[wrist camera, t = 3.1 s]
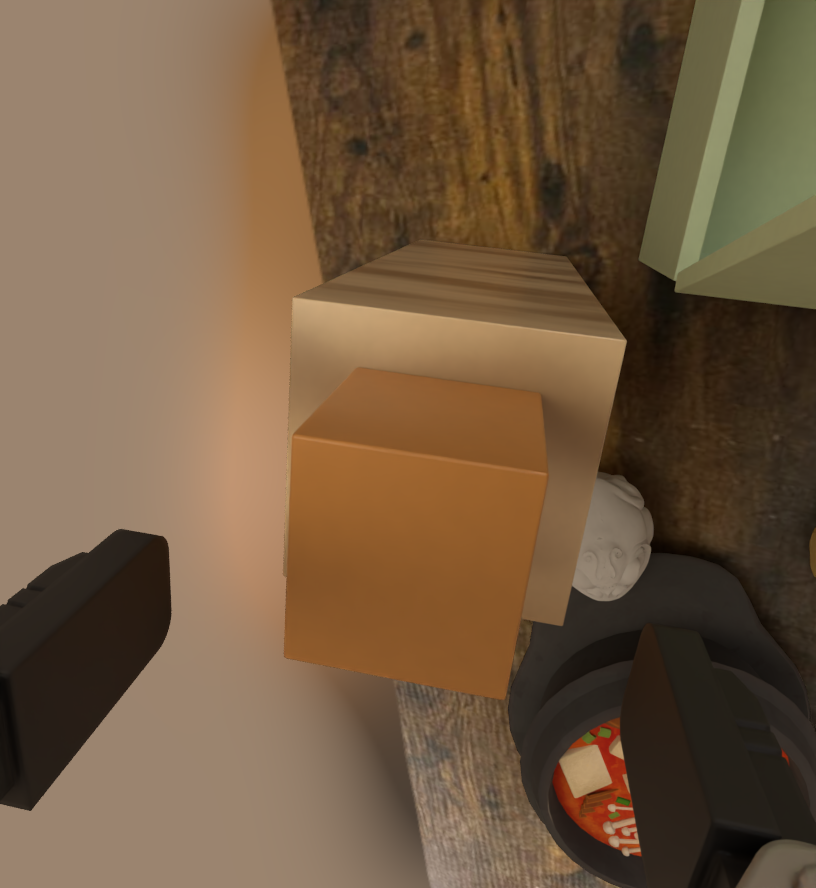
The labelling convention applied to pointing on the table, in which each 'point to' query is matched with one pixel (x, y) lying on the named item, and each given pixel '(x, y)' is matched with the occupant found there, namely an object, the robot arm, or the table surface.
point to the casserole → (601, 693)
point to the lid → (762, 263)
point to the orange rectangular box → (414, 529)
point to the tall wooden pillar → (477, 364)
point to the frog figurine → (613, 540)
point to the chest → (735, 129)
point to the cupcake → (813, 552)
